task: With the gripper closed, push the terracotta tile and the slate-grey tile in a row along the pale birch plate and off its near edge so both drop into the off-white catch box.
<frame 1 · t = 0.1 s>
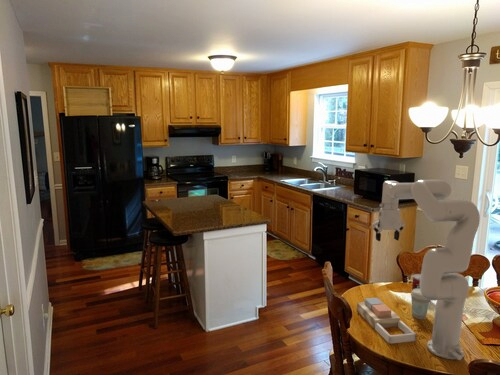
hand: (387, 240, 187), 31 cm above the table, tool pointing down, fingers open, 9 cm apart
coffee cup: (418, 316, 175), on the table
catch box: (394, 334, 160), on the table
tile terracotta: (381, 312, 170), point 4 cm above the table, touching birch plate
tile slate: (373, 306, 176), point 4 cm above the table, touching birch plate
canned food: (419, 297, 195), on the table
birch plate: (377, 318, 173), on the table
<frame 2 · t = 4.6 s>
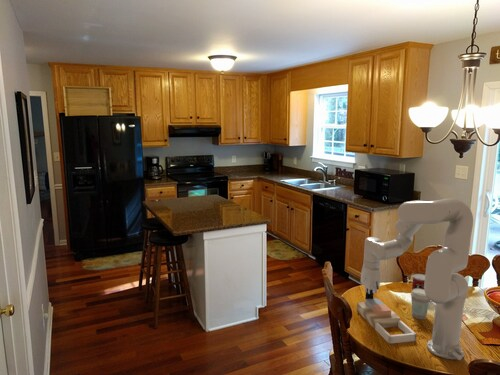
hand: (369, 300, 180), 5 cm above the table, tool pointing down, fingers closed
tile slate: (374, 306, 175), point 4 cm above the table, touching birch plate, gripper
everything else where it was.
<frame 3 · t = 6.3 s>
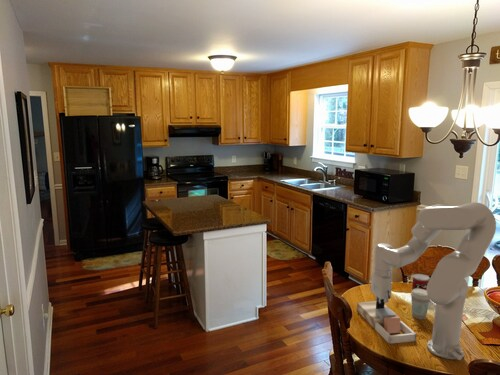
hand: (379, 310, 171), 5 cm above the table, tool pointing down, fingers closed
tile terracotta: (390, 324, 162), point 3 cm above the table, tilted 75°
tile slate: (385, 317, 166), point 4 cm above the table, touching birch plate
everything else where it was.
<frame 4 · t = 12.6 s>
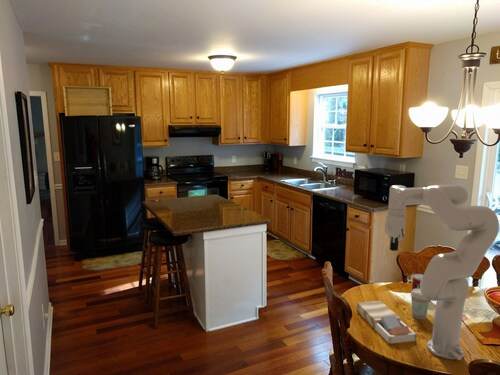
hand: (393, 249, 178), 29 cm above the table, tool pointing down, fingers closed
tile terracotta: (397, 328, 157), point 4 cm above the table, tilted 135°, touching catch box, tile slate
tile slate: (390, 325, 162), point 2 cm above the table, tilted 26°, touching birch plate, tile terracotta
everything else where it was.
at the end: tile terracotta inside the target area (2.3 cm from its centre), point 3.9 cm above the table; tile slate inside the target area (2.8 cm from its centre), point 2.4 cm above the table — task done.
